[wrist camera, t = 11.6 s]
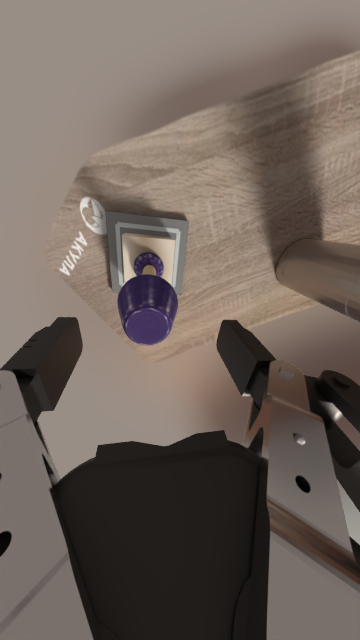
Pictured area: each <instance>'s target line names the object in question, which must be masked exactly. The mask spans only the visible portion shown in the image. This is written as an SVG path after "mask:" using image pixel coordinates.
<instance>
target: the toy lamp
mask: <svg viewBox="0 0 360 640" xmlns="http://www.w3.org/2000/svg"><path fill="white" fill-rule="evenodd" d="M134 271H135V274H136V277H133V278H131V279H130V280H128V281H127V282H126V283H125V284H124V285H123V287H122V288H121V290H120V292H119V295H118V309H119V314H120V318H121V322H122V326H123V329H124V331H125V333H126V335H127V336H128V337H129V338H130V339H131V340H132V341H134V342H136V343H138V344H141V345H153V344H157V343H159V342H161V341H163V340H164V339H165V338H166V337H167V336H168V335H169V333H170V331H171V329H172V326H173V323H174V319H175V316H176V312H177V308H178V299H177V295H176V292H175V290H174V289H173V287H172V286H171V284H170V283H169V282H167V281H166V280H165V279H163V278H161V276H162V274H163V271H164V265H163V262H162V260H161V259H160V257H159V256H157V255H156V254H154V253H151V252H145V253H142V254H140V255H139V256H138V257H137V258H136V259H135V261H134Z"/></svg>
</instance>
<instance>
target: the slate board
mask: <svg viewBox="0 0 360 640" xmlns="http://www.w3.org/2000/svg"><path fill="white" fill-rule="evenodd" d="M105 213H106V224H107V235H108V247H109V258H110V269H111V281H112V292H113V293H119V292H120V290H121V288H122V287H123V285H124V284H125V283H124V264H123V244H122V235H123V234H124V233H132V234H142V235H151V236H161V237H171V238H173V239H174V240H176V241H175V252H174V264H173V276H172V287H173V289H174V290H175V292H176V295H181V289H182V280H183V271H184V263H185V254H186V245H187V237H188V228H189V221H183V220H175V219H167V218H159V217H151V216H143V215H135V214H127V213H119V212H111V211H105Z"/></svg>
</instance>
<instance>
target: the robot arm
mask: <svg viewBox="0 0 360 640" xmlns="http://www.w3.org/2000/svg"><path fill="white" fill-rule="evenodd" d="M276 276H277V279H278V281H279V282H280V283H281V284H282V285H284V286H286V287H288V288H290V289H292V290H294V291H296V292H298V293H300V294H302V295H304V296H306V297H308V298H310V299H312V300H314V301H316V302H318V303H321V304H323V305H325V306H327V307H329V308H331V309H333V310H335V311H337V312H339V313H341V314H343V315H346V316H348V317H350V318H352V319H354V320H356V321H358V322H360V245H355V244H347V243H339V242H331V241H323V240H315V239H301V240H299V241H296V242H295V243H293V244H292V245H290V246H289V247H288V248H287V249H286V250H285V251H284V253H283V254H282V256H281V257H280V259H279V261H278V264H277V268H276ZM82 346H83V345H82V338H81V333H80V328H79V324H78V320H77V318H75V317H58V318H57V319H56V320H55V321H54V322H53V324H52V325H51V326H50V327H45V328H43V329H41V330H40V331H38V332H36V333H35V334H34V335H33V336H32V337H31V338H30V339H29V340H28V342H26V343H25V344H24V345H23V347H22V348H20V349H19V351H17V353H15V354H14V355H13V357H12V358H11V359H10V360H9V361H8V362H7V363H6V364H5V365H4V366H3V367H2V368H1V369H0V640H360V545H359V544H358V543H357V542H355V541H354V540H353V539H352V538H351V537H350V536H349V534H348V530H347V525H346V521H345V516H344V511H343V507H342V503H341V498H340V494H339V489H338V485H337V480H336V478H337V479H338V481H339V482H340V484H341V485H342V487H343V488H344V490H345V491H346V493H347V494H348V495H349V497H350V498H351V500H352V501H353V503H354V504H355V506H356V507H357V509H358V510H359V512H360V451H359V450H358V449H357V448H356V446H355V445H354V444H353V443H352V442H351V441H350V440H349V438H348V437H347V436H346V435H345V434H344V433H343V431H342V430H341V429H340V428H339V427H338V426H337V424H336V422H337V421H338V420H339V419H340V418H341V417H342V416H343V415H344V416H345V417H346V418H347V419H348V421H349V422H350V423H352V425H353V426H354V427H355V428H356V429H357V430H358V431H359V432H360V386H359V385H358V384H356V383H355V382H354V381H353V380H351V379H350V378H348V377H346V376H345V375H343V374H340V373H338V372H335V371H331V370H325V371H323V372H322V373H321V375H320V376H319V377H318V378H315V377H311V376H306V375H303V373H302V372H301V371H300V370H299V369H298V368H296V367H295V366H294V365H292V364H290V363H287V362H285V361H280V360H276V359H275V358H274V357H273V355H272V354H271V353H270V352H269V351H268V350H267V349H266V348H265V347H264V346H263V345H262V344H261V342H260V341H259V340H257V338H256V337H255V336H254V335H253V334H252V333H251V332H250V331H248V330H247V329H245V328H243V327H242V326H241V324H240V323H239V322H238V321H237V320H223V321H222V323H221V327H220V331H219V335H218V338H217V350H218V352H219V354H220V356H221V358H222V360H223V361H224V363H225V365H226V367H227V369H228V371H229V373H230V375H231V377H232V378H233V380H234V382H235V384H236V386H237V388H238V390H239V392H240V393H241V395H242V396H252V398H253V400H252V402H251V406H250V411H249V417H248V422H247V428H246V434H245V438H244V441H243V444H242V445H240V444H238V443H235V442H232V441H228V440H227V437H226V435H225V432H224V430H222V431H214V432H206V433H197V434H194V435H192V436H190V437H187V438H185V439H183V440H181V441H178V442H176V443H174V444H172V445H169V446H158V445H152V444H146V443H140V442H134V441H130V442H121V443H114V444H105V445H98V448H97V452H96V457H94V458H92V459H89V460H88V461H86V462H84V463H82V464H81V465H79V466H77V467H76V468H74V469H73V470H72V471H70V472H69V473H68V474H67V475H65V476H64V477H63V478H62V479H60V477H59V474H58V472H57V470H56V468H55V465H54V463H53V460H52V458H51V455H50V452H49V449H48V447H47V444H46V441H45V439H44V436H43V433H42V430H41V427H40V425H39V422H38V421H37V419H38V417H39V415H40V414H41V412H42V411H53V410H54V409H55V407H56V405H57V403H58V400H59V398H60V396H61V394H62V392H63V390H64V388H65V386H66V384H67V382H68V380H69V378H70V375H71V374H72V372H73V369H74V367H75V365H76V363H77V361H78V359H79V357H80V355H81V352H82Z"/></svg>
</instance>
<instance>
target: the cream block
mask: <svg viewBox="0 0 360 640" xmlns="http://www.w3.org/2000/svg"><path fill="white" fill-rule="evenodd" d="M175 241H176V240H174V239H173V238H171V237H161V236H151V235H142V234H132V233H124V234H123V235H122V244H123V264H124V283H126V282H127V281H128V280H130V279H131V278H133V277H136V274H135V271H134V261H135V259H136V258H137V257H138V256H139V255H140V254H142V253H145V252H151V253H154V254H156V255H157V256H159V257H160V259H161V260H162V262H163V265H164V271H163V274H162V276H161V278H163V279H165V280H166V281H167V282H169V283H170V284H171V286H172V276H173V264H174V252H175Z"/></svg>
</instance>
